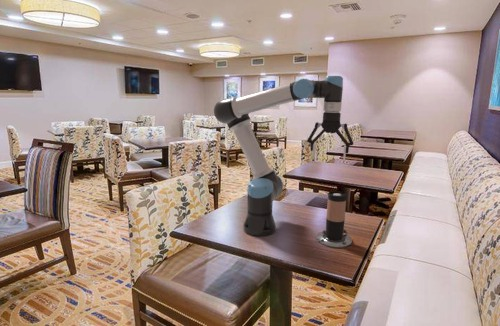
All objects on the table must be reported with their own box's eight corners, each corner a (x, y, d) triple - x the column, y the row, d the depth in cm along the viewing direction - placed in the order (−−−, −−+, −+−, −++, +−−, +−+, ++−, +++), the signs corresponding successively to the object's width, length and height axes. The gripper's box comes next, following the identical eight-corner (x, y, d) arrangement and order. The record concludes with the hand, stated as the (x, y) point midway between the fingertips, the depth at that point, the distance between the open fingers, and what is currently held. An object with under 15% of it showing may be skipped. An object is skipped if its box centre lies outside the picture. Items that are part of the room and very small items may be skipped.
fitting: (314, 244, 134) (315, 232, 133) (319, 225, 154) (320, 214, 153) (351, 250, 130) (352, 237, 129) (351, 229, 150) (352, 218, 149)
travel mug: (325, 240, 136) (328, 195, 132) (324, 232, 143) (327, 190, 139) (343, 241, 134) (347, 197, 130) (342, 234, 142) (345, 191, 137)
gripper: (302, 111, 140) (299, 158, 145) (361, 113, 132) (357, 163, 137) (305, 110, 147) (303, 155, 152) (361, 112, 139) (357, 159, 143)
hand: (328, 159), depth 144 cm, fingers open, 13 cm apart
